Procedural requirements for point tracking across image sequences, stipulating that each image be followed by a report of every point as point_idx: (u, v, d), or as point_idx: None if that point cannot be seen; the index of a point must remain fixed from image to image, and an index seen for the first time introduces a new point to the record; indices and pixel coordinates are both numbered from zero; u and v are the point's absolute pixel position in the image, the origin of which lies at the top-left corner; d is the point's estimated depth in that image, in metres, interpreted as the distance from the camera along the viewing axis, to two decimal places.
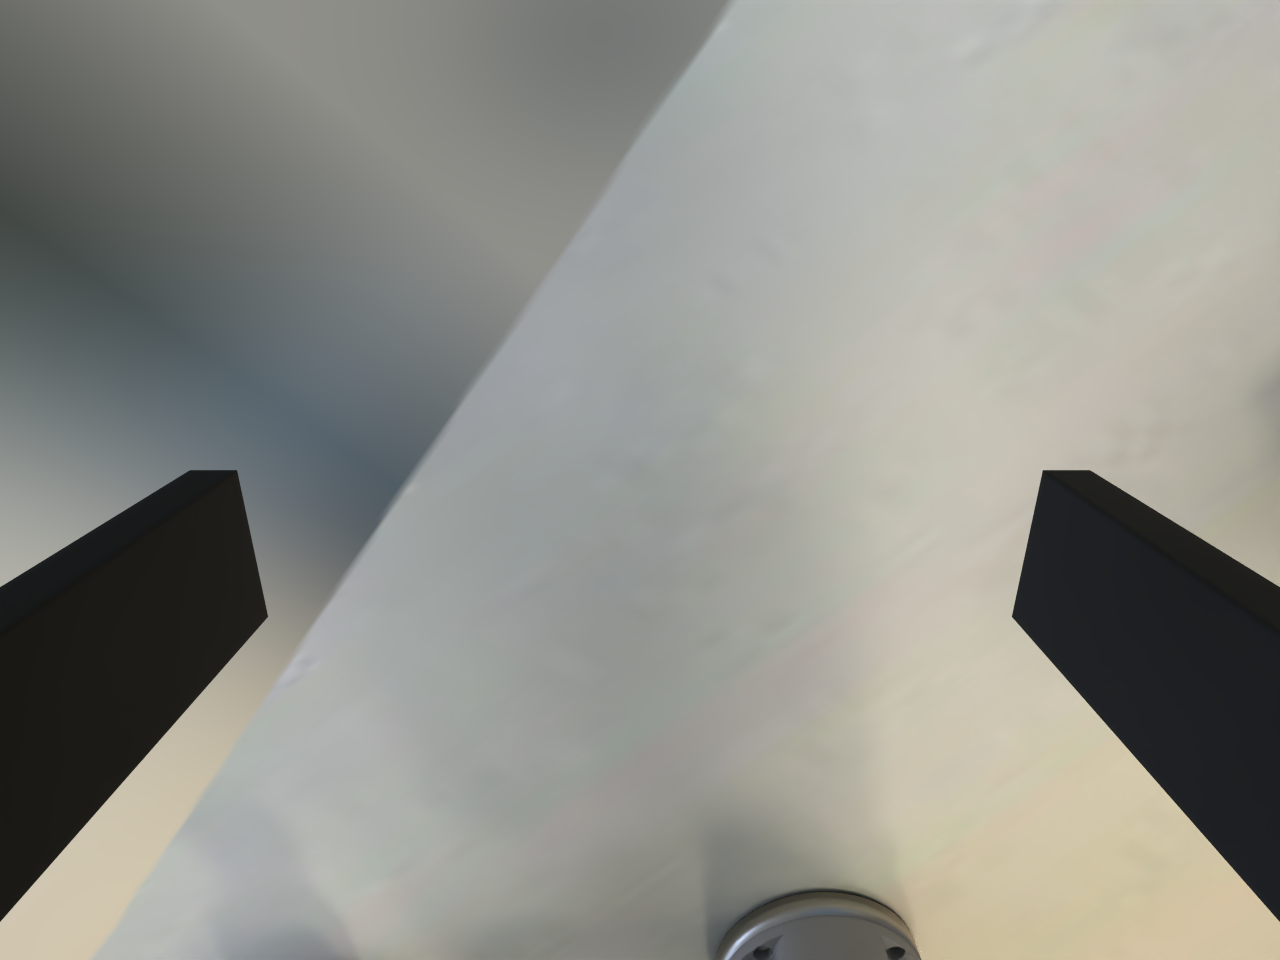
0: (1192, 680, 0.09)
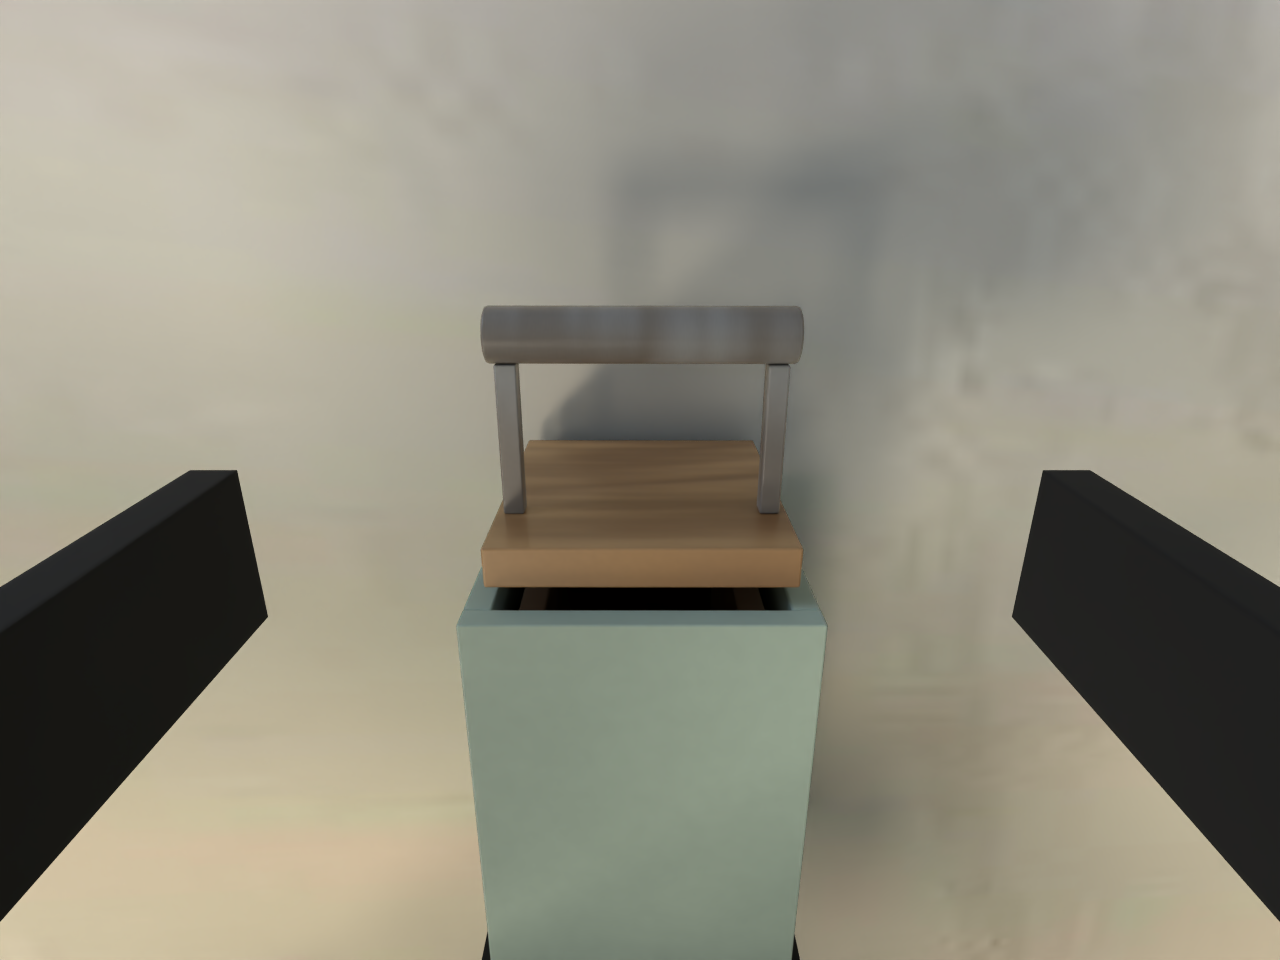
0: (1191, 680, 0.09)
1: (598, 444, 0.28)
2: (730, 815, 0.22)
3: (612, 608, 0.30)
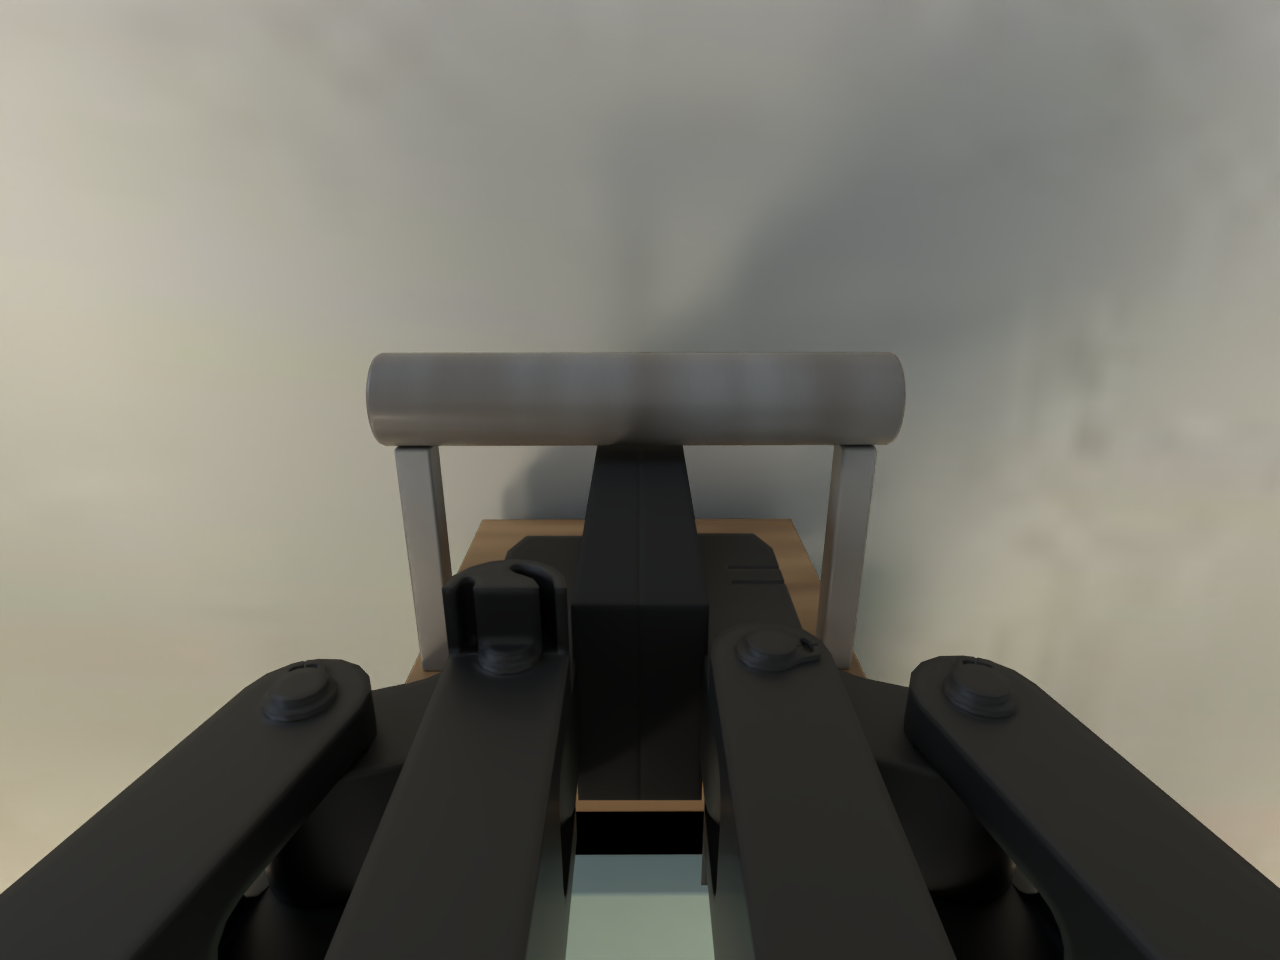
0: None
1: (577, 526, 0.20)
2: None
3: None
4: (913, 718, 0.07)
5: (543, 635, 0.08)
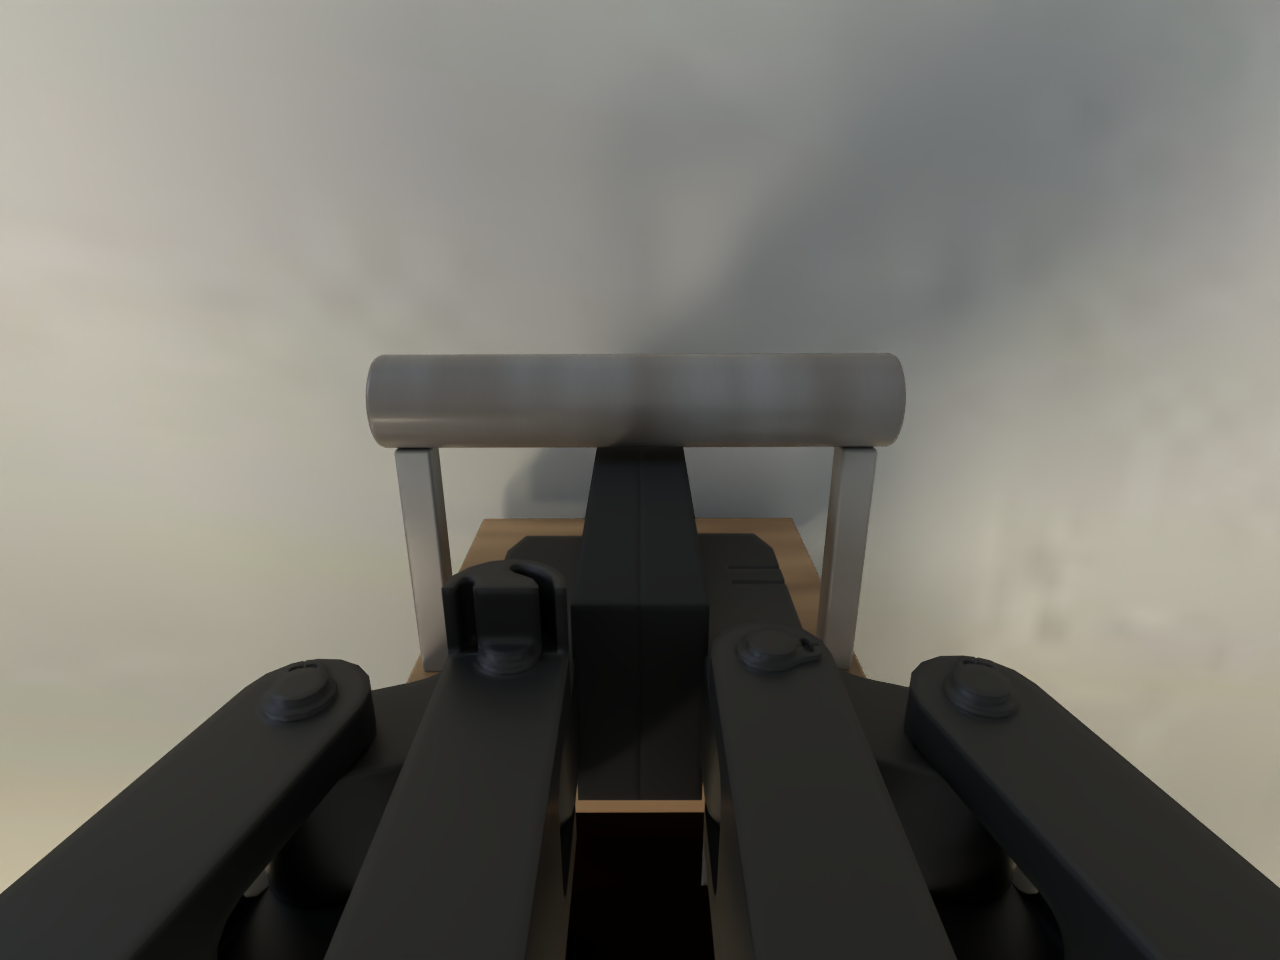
0: None
1: (578, 526, 0.20)
2: None
3: None
4: (913, 718, 0.07)
5: (543, 635, 0.08)
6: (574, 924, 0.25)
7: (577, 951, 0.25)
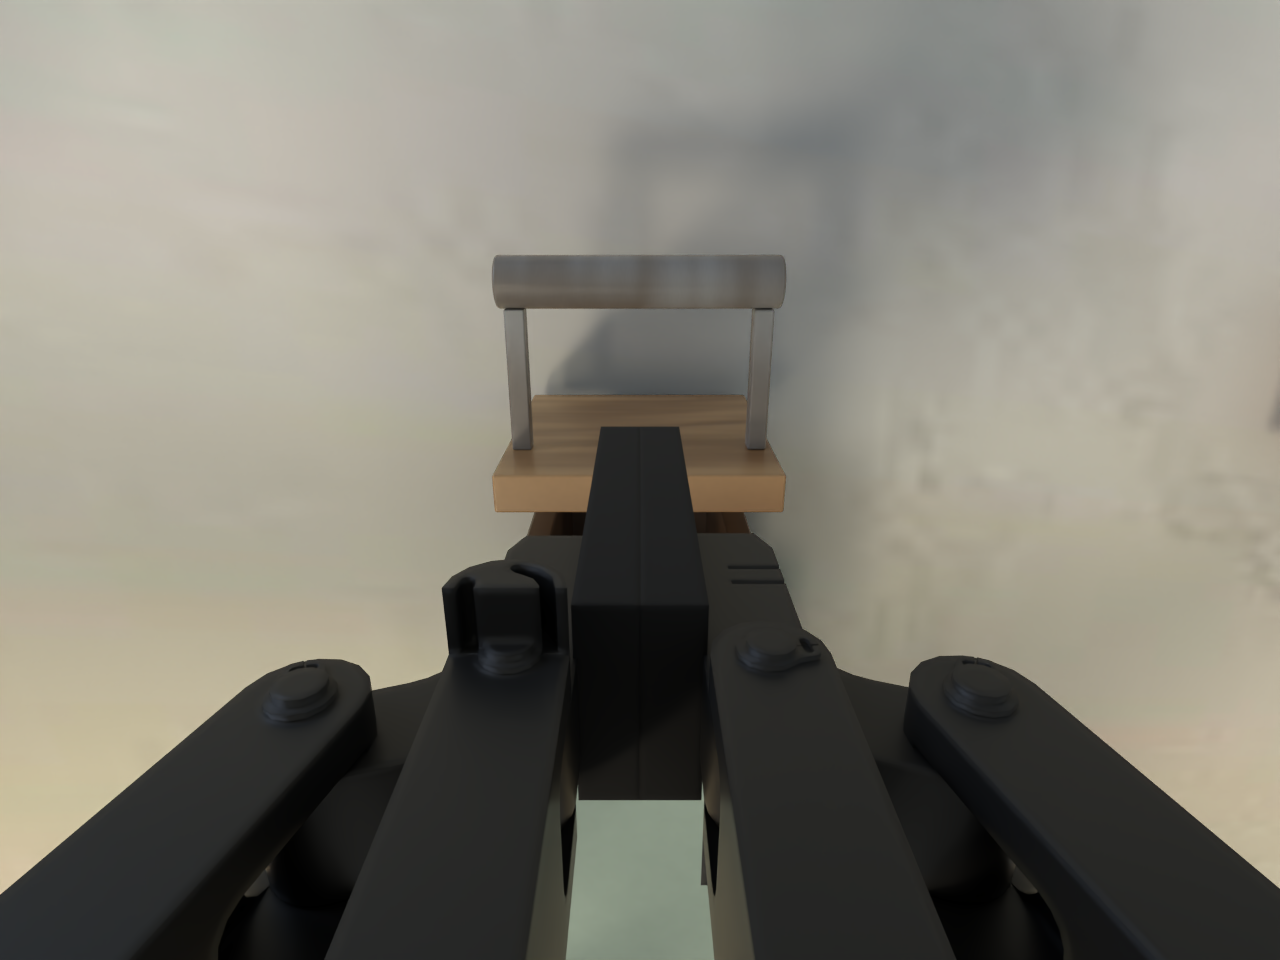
0: None
1: (599, 398, 0.30)
2: None
3: None
4: (912, 718, 0.07)
5: (543, 635, 0.08)
6: None
7: None
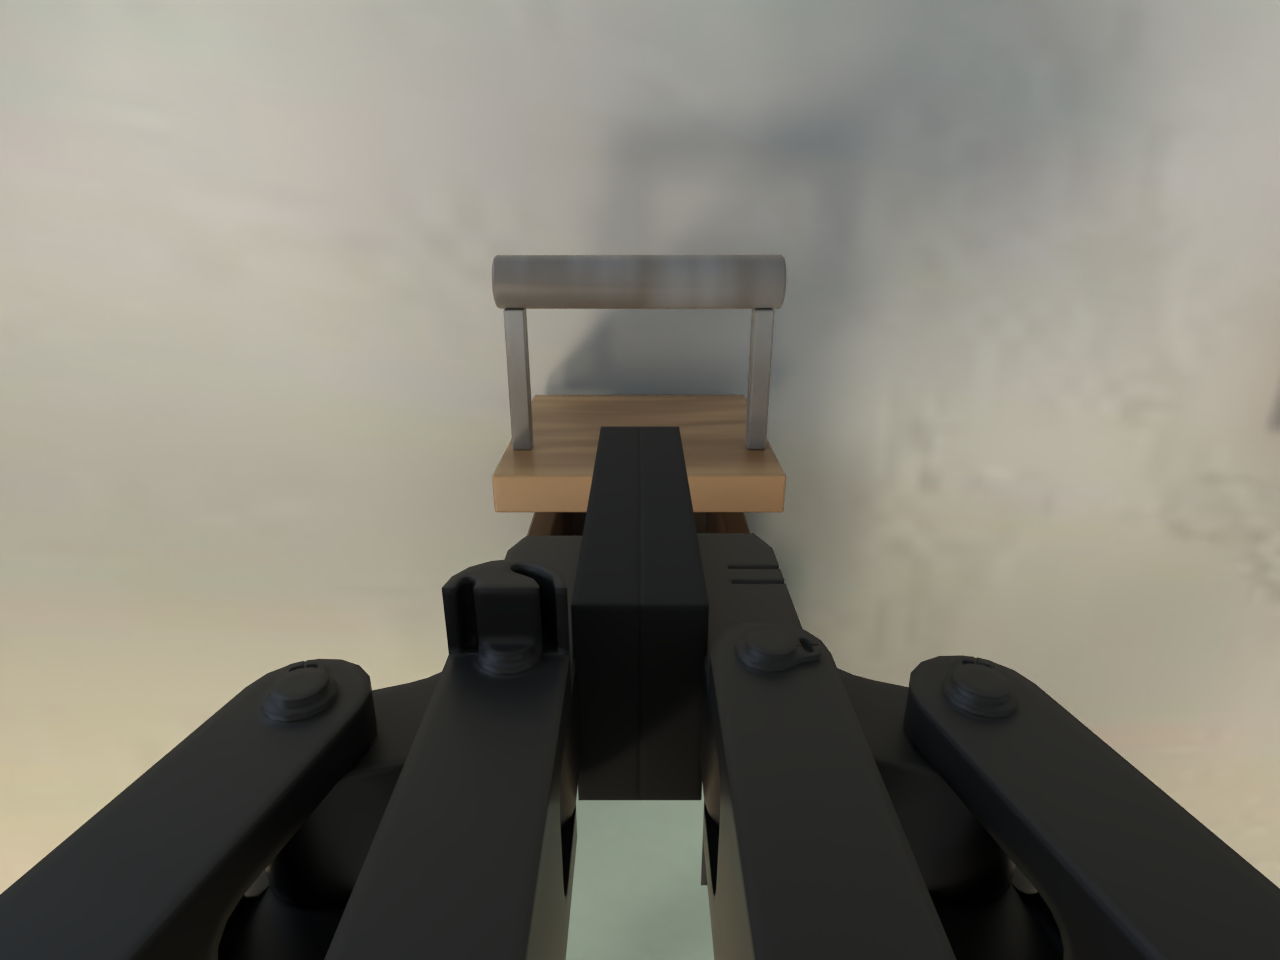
0: None
1: (599, 398, 0.30)
2: None
3: None
4: (912, 718, 0.07)
5: (543, 635, 0.08)
6: None
7: None
